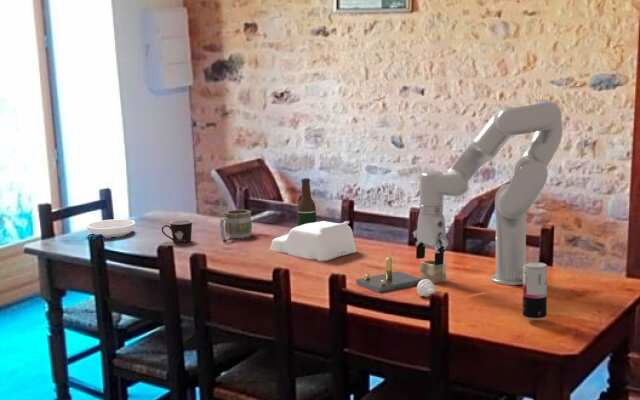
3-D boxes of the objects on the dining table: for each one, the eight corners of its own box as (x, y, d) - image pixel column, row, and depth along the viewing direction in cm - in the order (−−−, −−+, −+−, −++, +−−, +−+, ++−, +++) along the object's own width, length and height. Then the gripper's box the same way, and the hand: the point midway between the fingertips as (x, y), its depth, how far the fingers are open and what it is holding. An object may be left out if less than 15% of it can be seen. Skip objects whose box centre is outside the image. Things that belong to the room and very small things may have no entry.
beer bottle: (303, 239, 366) (301, 180, 361) (294, 236, 372) (292, 178, 368) (320, 237, 369) (318, 178, 365) (311, 234, 376) (309, 176, 372)
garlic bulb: (425, 301, 274) (425, 283, 273) (415, 296, 280) (415, 279, 279) (441, 298, 277) (440, 281, 276) (430, 294, 282) (430, 277, 281)
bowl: (130, 245, 366) (129, 227, 365) (82, 246, 367) (81, 229, 365) (140, 235, 385) (139, 218, 384) (94, 236, 386) (93, 219, 385)
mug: (237, 237, 375) (236, 208, 372) (258, 239, 368) (256, 210, 366) (211, 244, 362) (210, 215, 360) (232, 247, 356) (230, 217, 354)
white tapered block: (324, 265, 323) (323, 229, 321) (267, 254, 344) (265, 219, 341) (360, 255, 337) (359, 220, 334) (303, 245, 357) (301, 211, 355)
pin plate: (422, 283, 294) (422, 258, 292) (379, 292, 285) (378, 266, 284) (398, 275, 305) (398, 250, 303) (356, 284, 296) (355, 258, 295)
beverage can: (521, 318, 254) (521, 266, 252) (524, 312, 260) (524, 261, 258) (544, 320, 252) (545, 268, 249) (547, 313, 258) (548, 262, 255)
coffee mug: (198, 245, 361) (196, 220, 359) (183, 250, 354) (182, 225, 352) (175, 242, 367) (174, 218, 365) (161, 247, 360) (159, 222, 358)
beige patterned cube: (446, 280, 297) (445, 262, 296) (431, 283, 294) (431, 265, 293) (434, 277, 302) (434, 259, 301) (420, 279, 299) (419, 262, 298)
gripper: (457, 213, 288) (455, 265, 291) (424, 204, 303) (422, 254, 306) (438, 215, 285) (436, 268, 288) (405, 206, 299) (404, 257, 302)
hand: (429, 261), depth 297 cm, fingers open, 9 cm apart
